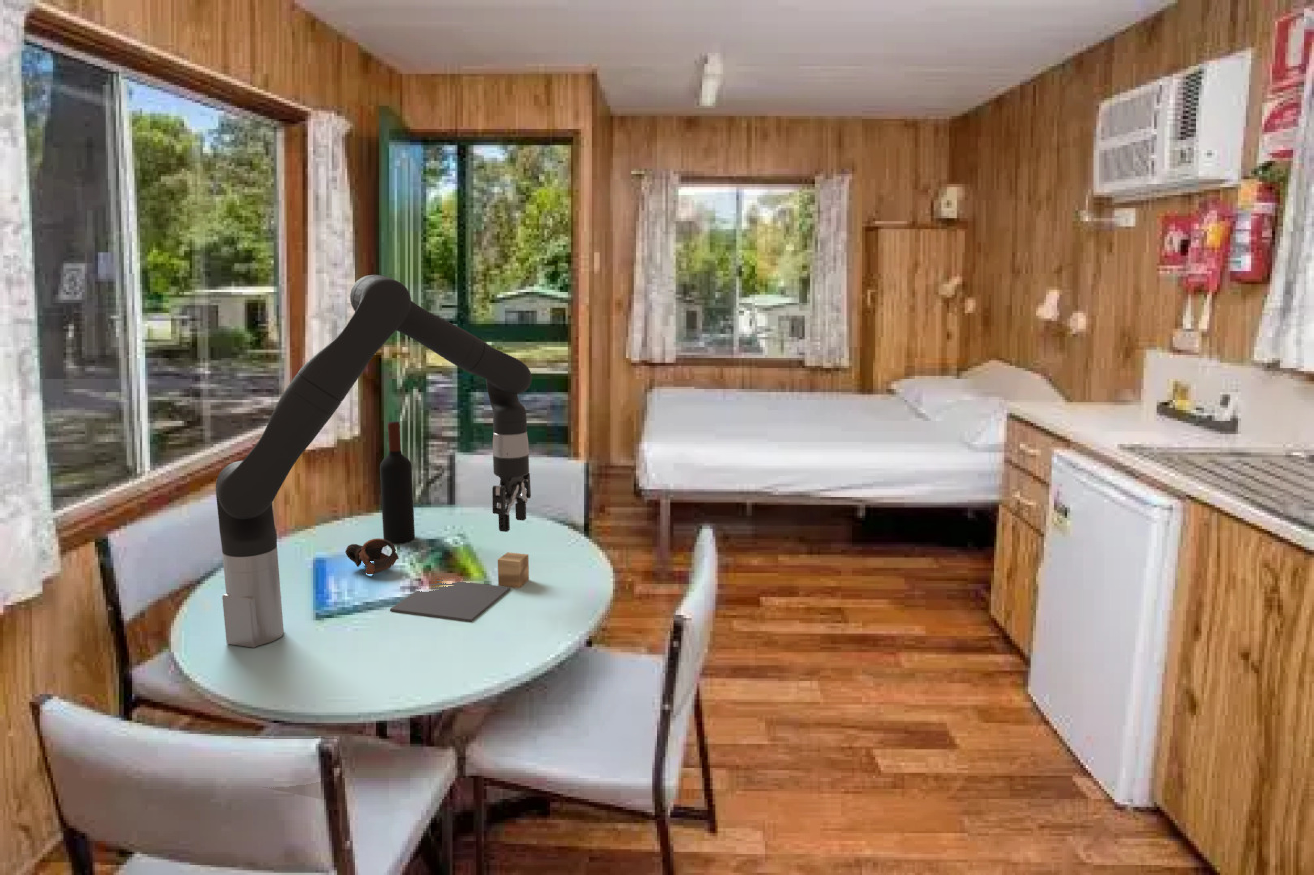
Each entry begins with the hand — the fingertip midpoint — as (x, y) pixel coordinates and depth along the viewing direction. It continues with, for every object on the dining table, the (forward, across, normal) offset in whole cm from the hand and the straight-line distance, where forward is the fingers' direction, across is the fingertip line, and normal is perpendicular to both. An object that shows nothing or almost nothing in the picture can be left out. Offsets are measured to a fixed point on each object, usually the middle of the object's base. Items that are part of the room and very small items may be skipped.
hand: (512, 525), depth 194 cm
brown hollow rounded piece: (+13, -2, +34) cm, 37 cm away
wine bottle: (+13, +19, +40) cm, 46 cm away
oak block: (+13, 0, 0) cm, 13 cm away
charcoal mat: (+13, -13, +8) cm, 20 cm away
